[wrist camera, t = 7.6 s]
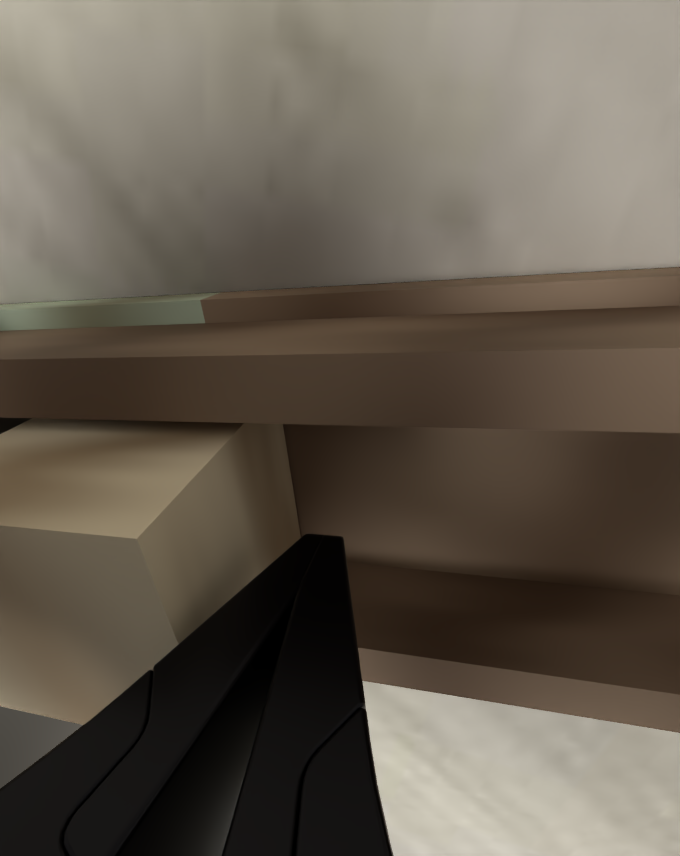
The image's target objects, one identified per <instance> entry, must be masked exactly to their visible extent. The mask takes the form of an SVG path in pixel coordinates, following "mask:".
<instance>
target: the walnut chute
mask: <svg viewBox="0 0 680 856" xmlns="http://www.w3.org/2000/svg"><path fill="white" fill-rule="evenodd" d="M32 418H46V419H89V420H133V421H176V422H219V423H263V424H283V428H284V435H285V441H286V447H287V453H288V460H289V466H290V472H291V478H292V485H293V491H294V497H295V503H296V510H297V516H298V522H299V528H300V535H301V537H302V536H303V535H305V534H308V533H310V534H322V535H334V536H342V537H343V538H344V543H345V551H346V559H347V566H348V574H349V582H350V590H351V597H352V605H353V613H354V621H355V628H356V636H357V644H358V652H359V660H360V667H361V675H362V681H368V682H374V683H380V684H386V685H392V686H399V687H405V688H411V689H417V690H423V691H429V692H435V693H441V694H447V695H453V696H459V697H466V698H472V699H478V700H484V701H490V702H496V703H502V704H508V705H514V706H520V707H526V708H533V709H539V710H545V711H551V712H557V713H563V714H569V715H575V716H581V717H587V718H593V719H599V720H606V721H612V722H618V723H624V724H630V725H636V726H642V727H648V728H654V729H660V730H666V731H673V732H679V733H680V267H673V268H654V269H636V270H618V271H600V272H582V273H564V274H546V275H528V276H510V277H491V278H473V279H455V280H437V281H419V282H401V283H383V284H365V285H346V286H328V287H310V288H292V289H274V290H256V291H238V292H220V293H202V294H183V295H165V296H147V297H129V298H111V299H93V300H75V301H57V302H38V303H20V304H2V305H0V434H2V433H4V432H6V431H8V430H10V429H12V428H14V427H16V426H18V425H20V424H22V423H24V422H26V421H28V420H30V419H32Z"/></svg>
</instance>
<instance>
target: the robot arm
mask: <svg viewBox="0 0 680 856" xmlns="http://www.w3.org/2000/svg"><path fill="white" fill-rule="evenodd" d="M0 856H393V852H392V848H391V844H390V840H389V835H388V831H387V826H386V821H385V817H384V812H383V808H382V803H381V799H380V794H379V790H378V785H377V779H376V773H375V767H374V761H373V754H372V748H371V742H370V735H369V727H368V719H367V712H366V707H365V698H364V691H363V683H362V675H361V667H360V660H359V652H358V644H357V636H356V628H355V621H354V613H353V605H352V597H351V590H350V582H349V574H348V566H347V559H346V551H345V543H344V538H343V537H342V536H334V535H322V534H310V533H308V534H305V535H303V536H302V537H301V538H300V539H299V540H297V541H296V542H295V543H294V544H293V545H292V546H291V547H289V548H288V549H287V550H286V551H285V552H284V553H283V554H281V555H280V556H279V557H278V558H277V559H276V560H275V561H273V562H272V563H271V564H270V565H269V566H268V567H266V568H265V569H264V570H263V571H262V572H261V573H260V574H258V575H257V576H256V577H255V578H254V579H253V580H252V581H250V582H249V583H248V584H247V585H246V586H245V587H244V588H242V589H241V590H240V591H239V592H238V593H237V594H236V595H234V596H233V597H232V598H231V599H230V600H229V601H228V602H226V603H225V604H224V605H223V606H222V607H221V608H219V609H218V610H217V611H216V612H215V613H214V614H213V615H211V616H210V617H209V618H208V619H207V620H206V621H205V622H203V623H202V624H201V625H200V626H199V627H198V628H197V629H195V630H194V631H193V632H192V633H191V634H190V635H189V636H187V637H186V638H185V639H184V640H183V641H182V642H180V643H179V644H178V645H177V646H176V647H175V648H174V649H172V650H171V651H170V652H169V653H168V654H167V655H166V656H164V657H163V658H162V659H161V660H160V661H159V662H158V663H156V664H155V665H154V667H153V670H148V671H147V672H146V673H145V674H144V675H142V676H141V677H140V678H139V679H138V680H137V681H136V682H134V683H133V684H132V685H131V686H130V687H129V688H127V689H126V690H125V691H124V692H123V693H122V694H120V695H119V696H118V697H117V698H116V699H114V700H113V701H112V702H111V703H110V704H108V705H107V706H106V707H105V708H104V709H102V710H101V711H100V712H99V713H98V714H97V715H95V716H94V717H93V718H92V719H90V720H89V721H88V722H87V723H85V724H84V725H83V726H82V727H80V728H79V729H78V730H76V731H75V732H74V733H73V734H71V735H70V736H69V737H67V738H66V739H65V740H64V741H63V742H61V743H60V744H58V745H57V746H56V747H55V748H53V749H52V750H51V751H50V752H48V753H47V754H46V755H45V756H43V757H42V758H40V759H39V760H38V761H36V762H35V763H34V764H33V765H31V766H30V767H28V768H27V769H26V770H24V771H23V772H22V773H21V774H19V775H18V776H17V777H15V778H14V779H13V780H11V781H10V782H9V783H7V784H6V785H5V786H3V787H2V788H1V789H0Z"/></svg>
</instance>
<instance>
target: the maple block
mask: <svg viewBox="0 0 680 856" xmlns="http://www.w3.org/2000/svg"><path fill="white" fill-rule="evenodd" d="M300 538H301V535H300V528H299V522H298V516H297V510H296V503H295V497H294V491H293V485H292V478H291V472H290V466H289V460H288V453H287V447H286V441H285V435H284V428H283V424H263V423H219V422H176V421H133V420H89V419H46V418H32V419H30V420H28V421H26V422H24V423H22V424H20V425H18V426H16V427H14V428H12V429H10V430H8V431H6V432H4V433H2V434H0V706H2V707H6V708H11V709H15V710H20V711H24V712H29V713H33V714H38V715H42V716H46V717H51V718H55V719H60V720H65V721H69V722H73V723H78V724H82V725H84V724H85V723H87V722H88V721H89V720H90V719H92V718H93V717H94V716H95V715H97V714H98V713H99V712H100V711H101V710H102V709H104V708H105V707H106V706H107V705H108V704H110V703H111V702H112V701H113V700H114V699H116V698H117V697H118V696H119V695H120V694H122V693H123V692H124V691H125V690H126V689H127V688H129V687H130V686H131V685H132V684H133V683H134V682H136V681H137V680H138V679H139V678H140V677H141V676H142V675H144V674H145V673H146V672H147V671H148V670H153V667H154V665H155V664H156V663H158V662H159V661H160V660H161V659H162V658H163V657H164V656H166V655H167V654H168V653H169V652H170V651H171V650H172V649H174V648H175V647H176V646H177V645H178V644H179V643H180V642H182V641H183V640H184V639H185V638H186V637H187V636H189V635H190V634H191V633H192V632H193V631H194V630H195V629H197V628H198V627H199V626H200V625H201V624H202V623H203V622H205V621H206V620H207V619H208V618H209V617H210V616H211V615H213V614H214V613H215V612H216V611H217V610H218V609H219V608H221V607H222V606H223V605H224V604H225V603H226V602H228V601H229V600H230V599H231V598H232V597H233V596H234V595H236V594H237V593H238V592H239V591H240V590H241V589H242V588H244V587H245V586H246V585H247V584H248V583H249V582H250V581H252V580H253V579H254V578H255V577H256V576H257V575H258V574H260V573H261V572H262V571H263V570H264V569H265V568H266V567H268V566H269V565H270V564H271V563H272V562H273V561H275V560H276V559H277V558H278V557H279V556H280V555H281V554H283V553H284V552H285V551H286V550H287V549H288V548H289V547H291V546H292V545H293V544H294V543H295V542H296V541H297V540H299V539H300Z"/></svg>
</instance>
